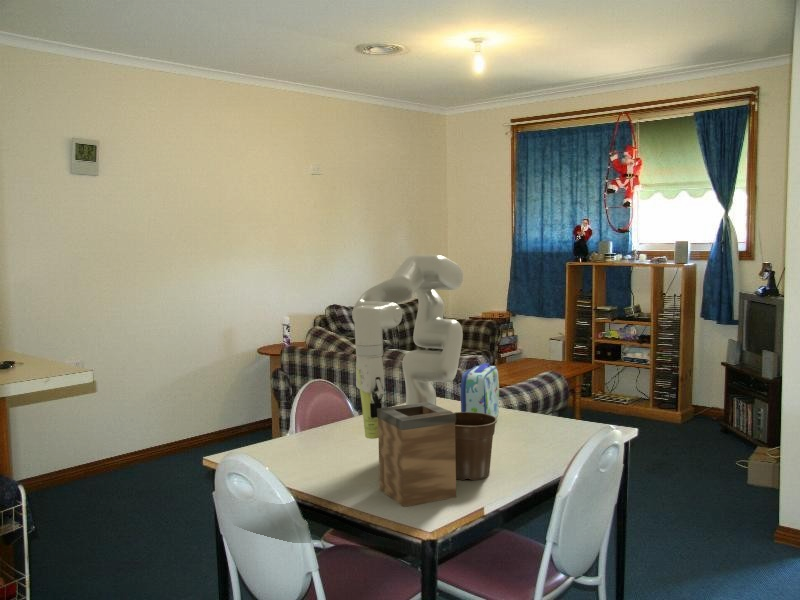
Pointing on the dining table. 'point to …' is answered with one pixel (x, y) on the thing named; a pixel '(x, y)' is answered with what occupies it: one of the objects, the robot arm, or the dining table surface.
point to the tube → (368, 414)
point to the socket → (417, 453)
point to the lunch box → (480, 390)
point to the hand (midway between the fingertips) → (372, 413)
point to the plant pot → (473, 444)
